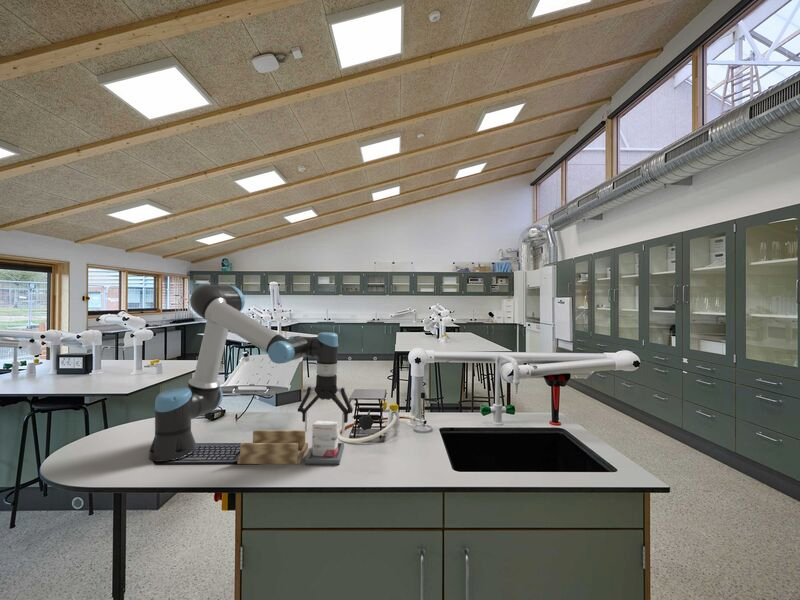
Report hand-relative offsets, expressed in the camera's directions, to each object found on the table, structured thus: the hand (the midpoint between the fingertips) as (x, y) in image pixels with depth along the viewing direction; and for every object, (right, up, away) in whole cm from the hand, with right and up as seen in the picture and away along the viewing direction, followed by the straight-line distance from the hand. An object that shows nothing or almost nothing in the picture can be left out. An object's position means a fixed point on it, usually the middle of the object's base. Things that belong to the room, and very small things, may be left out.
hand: (324, 430), depth 144 cm
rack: (-19, -9, -1) cm, 21 cm away
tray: (0, -9, 0) cm, 9 cm away
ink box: (0, -9, 0) cm, 9 cm away
